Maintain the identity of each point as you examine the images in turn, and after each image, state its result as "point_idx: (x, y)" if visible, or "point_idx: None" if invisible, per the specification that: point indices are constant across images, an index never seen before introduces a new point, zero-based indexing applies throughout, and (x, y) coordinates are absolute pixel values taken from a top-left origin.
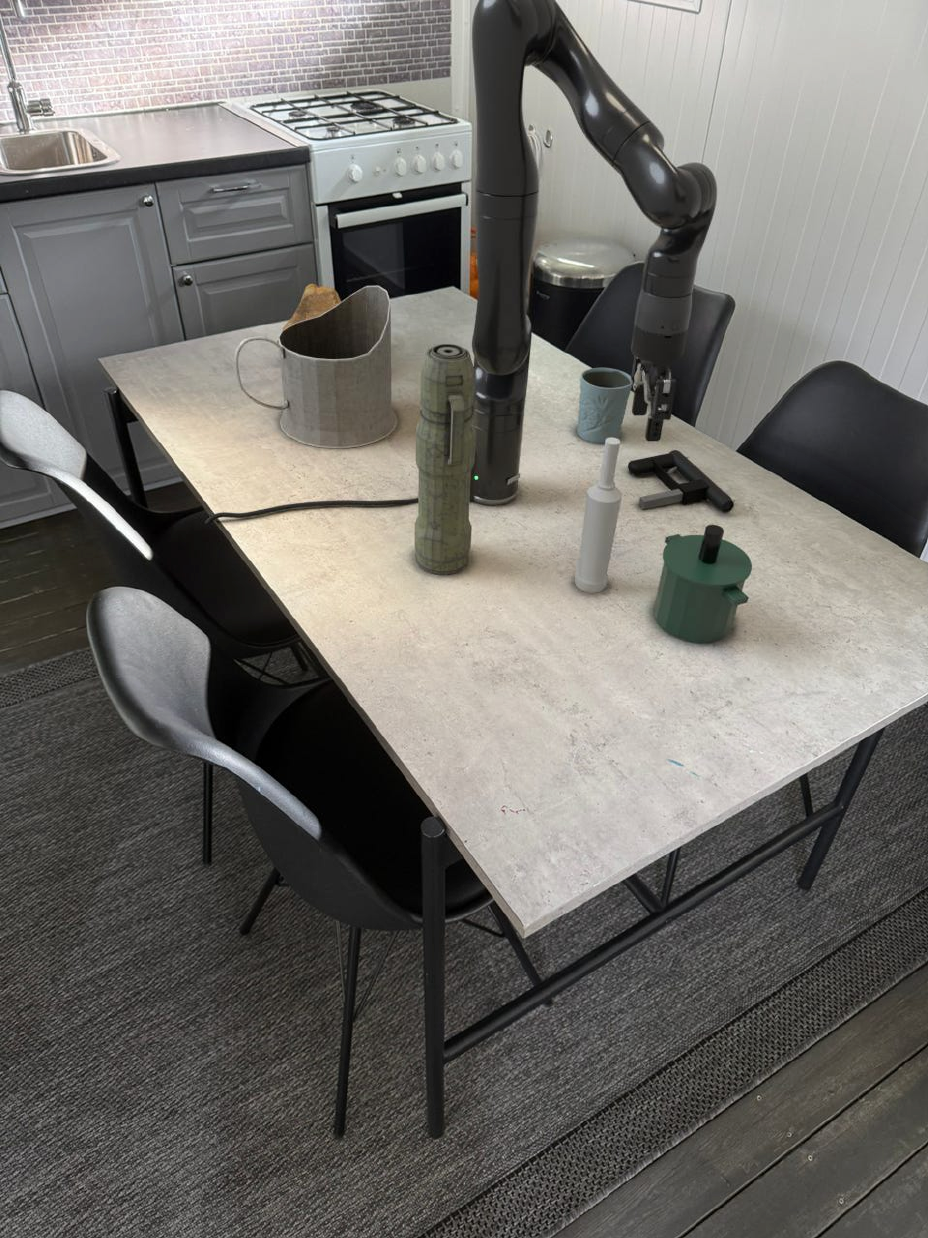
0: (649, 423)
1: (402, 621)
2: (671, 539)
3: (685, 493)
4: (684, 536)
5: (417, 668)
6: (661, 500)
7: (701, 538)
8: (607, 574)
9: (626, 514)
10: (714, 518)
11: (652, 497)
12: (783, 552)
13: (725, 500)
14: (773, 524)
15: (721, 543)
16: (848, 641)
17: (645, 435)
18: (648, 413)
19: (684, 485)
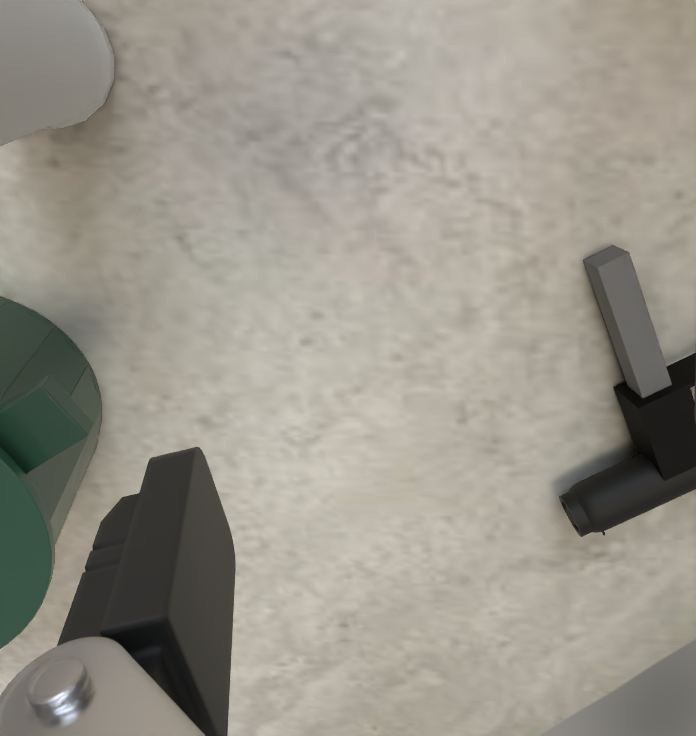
0: (120, 587)
1: None
2: (29, 408)
3: (635, 406)
4: (2, 470)
5: None
6: (613, 326)
7: (16, 530)
8: (65, 125)
9: (552, 201)
10: (541, 469)
11: (624, 298)
12: (387, 618)
13: (582, 519)
14: (519, 602)
15: (9, 593)
16: None
17: (179, 463)
18: (60, 684)
19: (678, 406)
